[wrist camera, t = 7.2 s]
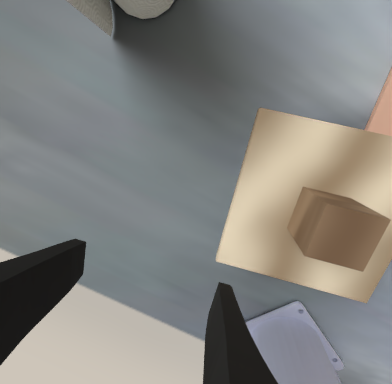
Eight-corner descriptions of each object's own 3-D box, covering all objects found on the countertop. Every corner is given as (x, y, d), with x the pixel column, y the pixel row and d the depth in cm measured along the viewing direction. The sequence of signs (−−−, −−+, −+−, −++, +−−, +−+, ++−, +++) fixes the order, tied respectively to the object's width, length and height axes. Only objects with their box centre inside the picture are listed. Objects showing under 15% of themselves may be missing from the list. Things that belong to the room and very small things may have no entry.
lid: (440, 148, 13) (541, 156, 9) (359, 295, 16) (405, 351, 12) (258, 108, 14) (271, 98, 10) (216, 255, 17) (212, 294, 13)
